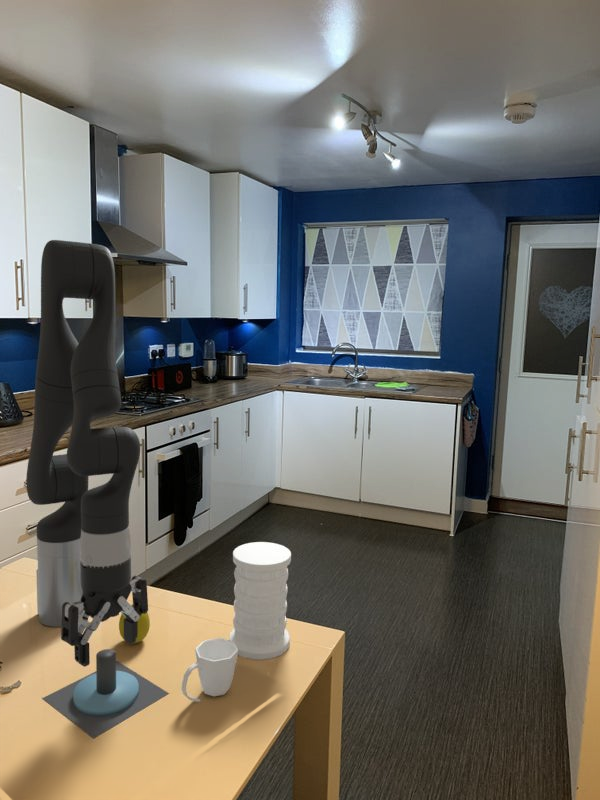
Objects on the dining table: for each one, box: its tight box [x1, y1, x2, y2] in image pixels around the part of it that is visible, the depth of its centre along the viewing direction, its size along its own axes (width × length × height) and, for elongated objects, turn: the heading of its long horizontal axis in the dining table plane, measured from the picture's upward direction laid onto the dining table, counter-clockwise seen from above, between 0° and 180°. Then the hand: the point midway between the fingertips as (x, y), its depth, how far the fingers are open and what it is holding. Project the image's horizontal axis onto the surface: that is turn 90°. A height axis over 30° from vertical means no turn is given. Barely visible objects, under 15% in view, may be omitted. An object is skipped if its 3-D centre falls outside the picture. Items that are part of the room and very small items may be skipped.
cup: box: [181, 637, 238, 703], centre depth 100 cm, size 7×10×8 cm
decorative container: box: [228, 541, 292, 661], centre depth 116 cm, size 12×12×18 cm
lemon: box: [118, 603, 151, 644], centre depth 115 cm, size 6×6×8 cm
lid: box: [73, 648, 139, 716], centre depth 99 cm, size 10×10×7 cm
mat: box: [41, 660, 170, 739], centre depth 99 cm, size 14×14×1 cm
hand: (107, 652), depth 98 cm, fingers open, 8 cm apart
